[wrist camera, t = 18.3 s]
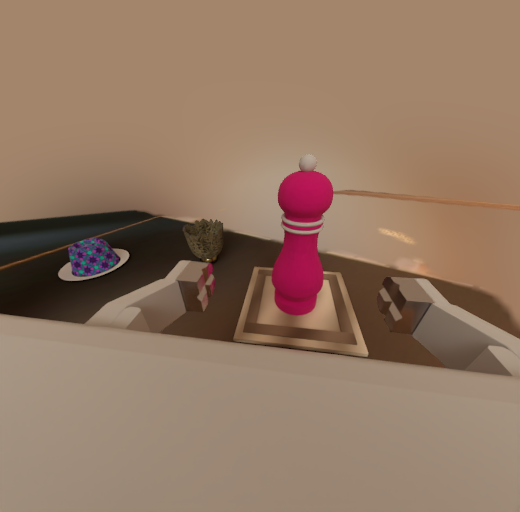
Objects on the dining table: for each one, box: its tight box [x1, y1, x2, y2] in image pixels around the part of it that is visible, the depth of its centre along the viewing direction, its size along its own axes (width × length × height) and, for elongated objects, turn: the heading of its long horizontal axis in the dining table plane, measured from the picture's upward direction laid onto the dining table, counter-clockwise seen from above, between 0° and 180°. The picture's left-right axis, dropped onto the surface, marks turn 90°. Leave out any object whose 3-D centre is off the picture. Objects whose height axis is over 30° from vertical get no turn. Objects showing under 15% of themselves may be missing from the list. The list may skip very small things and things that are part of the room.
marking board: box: [233, 267, 368, 357], centre depth 31 cm, size 16×16×1 cm
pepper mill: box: [272, 154, 333, 316], centre depth 25 cm, size 7×7×20 cm
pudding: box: [58, 238, 129, 281], centre depth 40 cm, size 12×12×5 cm
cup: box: [183, 219, 223, 264], centre depth 40 cm, size 8×7×8 cm
